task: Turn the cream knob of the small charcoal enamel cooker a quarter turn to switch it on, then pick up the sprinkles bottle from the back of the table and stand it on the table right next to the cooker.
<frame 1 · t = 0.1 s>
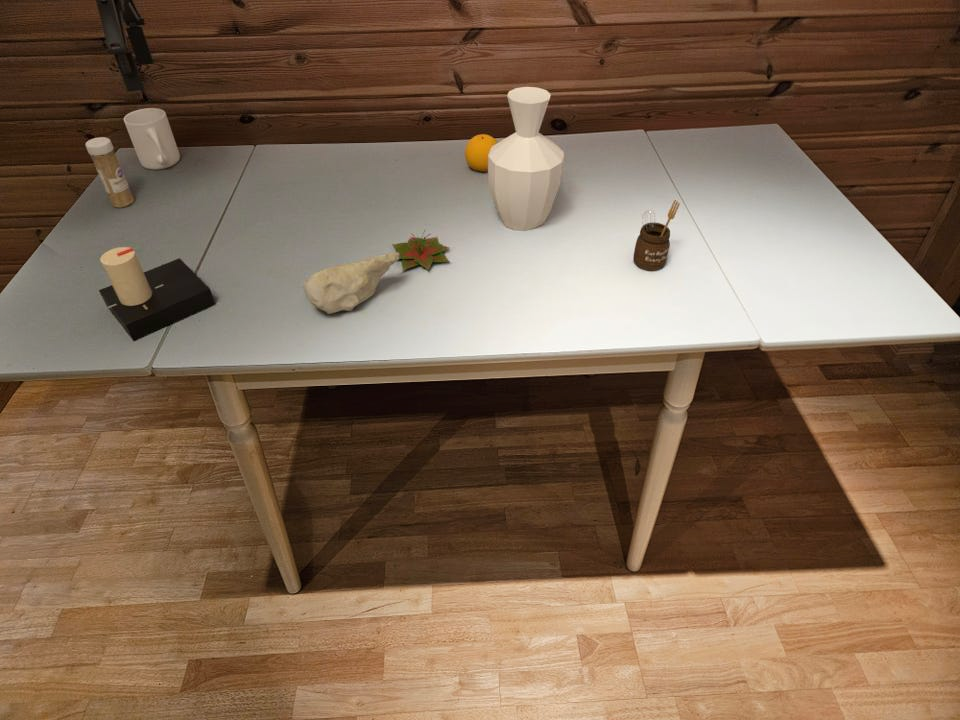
hand: (141, 76, 122), 24 cm above the table, tool pointing down, fingers open, 13 cm apart
hob knob: (126, 275, 105), point 8 cm above the table, hinge at 0.0°
lily flower: (420, 256, 122), on the table
mug: (163, 165, 149), on the table
utensil holder: (649, 263, 121), on the table
chicken drumstick: (355, 297, 113), on the table
vase: (523, 221, 131), on the table
orange fruit: (482, 168, 148), on the table
sprinkles bottle: (123, 203, 137), on the table
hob: (161, 305, 112), on the table
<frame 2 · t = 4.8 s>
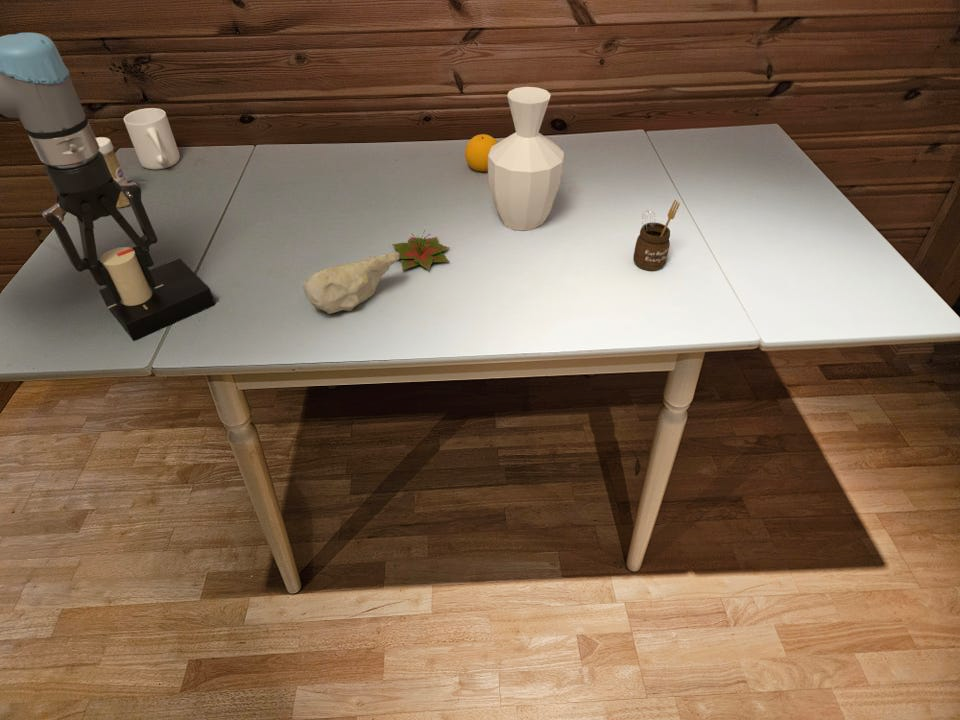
hand: (133, 290, 107), 5 cm above the table, tool pointing down, fingers closed on hob knob, 5 cm apart
hob knob: (126, 275, 105), point 8 cm above the table, hinge at -0.1°, touching gripper
everything else where it was.
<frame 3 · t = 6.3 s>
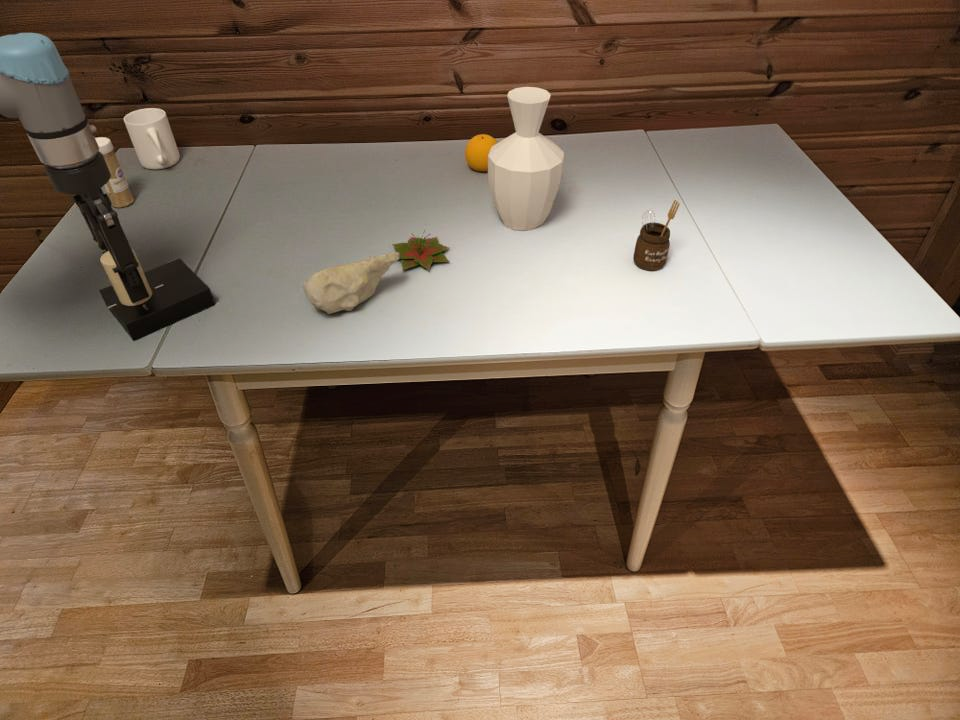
hand: (133, 290, 107), 5 cm above the table, tool pointing down, fingers closed on hob knob, 5 cm apart
hob knob: (126, 275, 105), point 8 cm above the table, hinge at 90.2°, touching gripper
everything else where it was.
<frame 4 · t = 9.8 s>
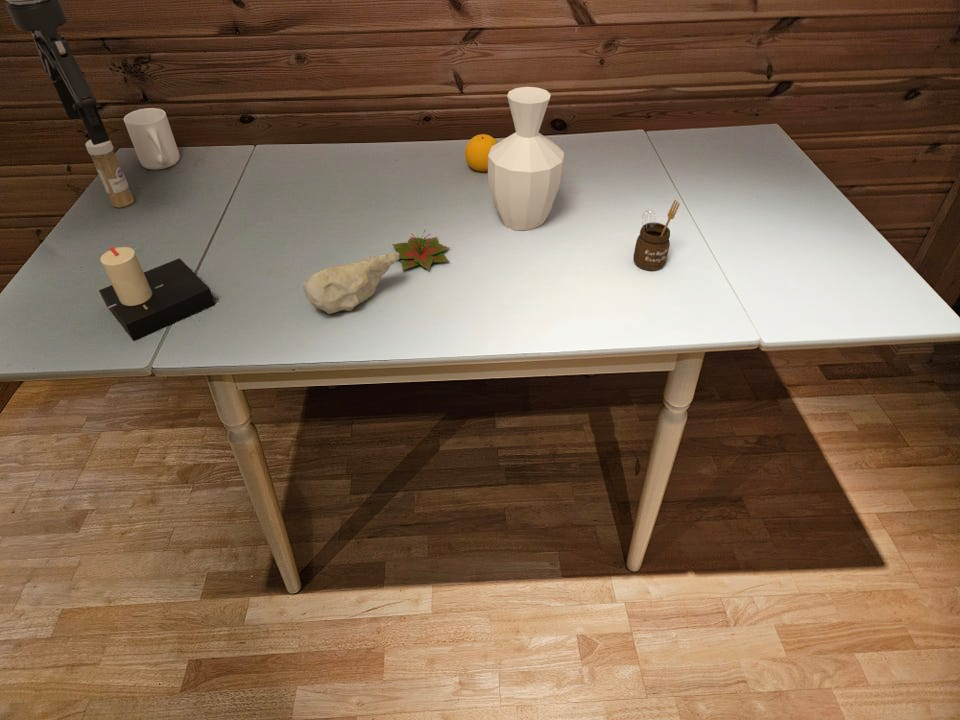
hand: (89, 129, 117), 20 cm above the table, tool pointing down, fingers open, 13 cm apart
hob knob: (126, 275, 105), point 8 cm above the table, hinge at 89.9°
everything else where it was.
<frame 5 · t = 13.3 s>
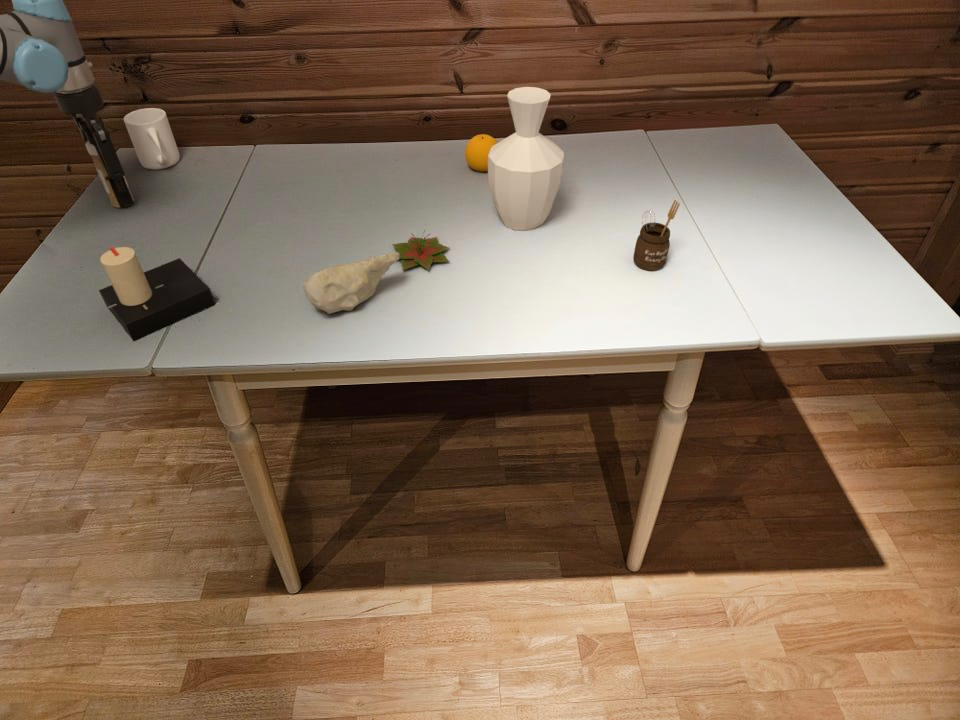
hand: (122, 200, 136), 1 cm above the table, tool pointing down, fingers closed on sprinkles bottle, 4 cm apart
sprinkles bottle: (123, 203, 137), on the table, touching gripper
everything else where it was.
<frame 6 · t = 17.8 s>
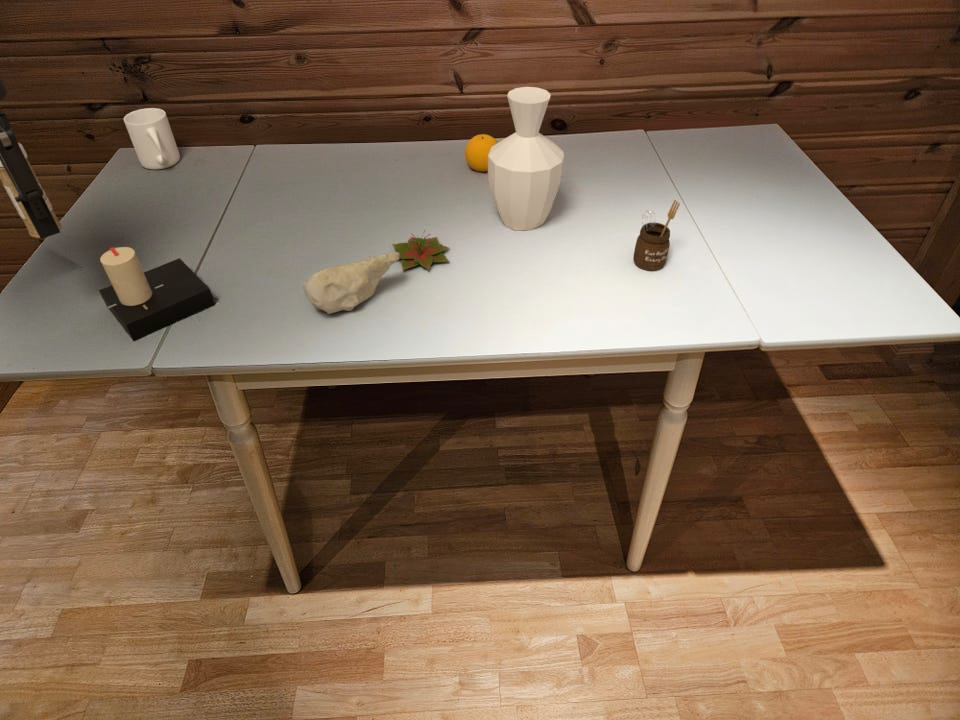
hand: (44, 227, 99), 16 cm above the table, tool pointing down, fingers closed on sprinkles bottle, 4 cm apart
sprinkles bottle: (47, 232, 100), point 16 cm above the table, touching gripper
everything else where it was.
when the fingers open (1 cm above the table, at t = 22.2 s): sprinkles bottle stays where it is, on the table.
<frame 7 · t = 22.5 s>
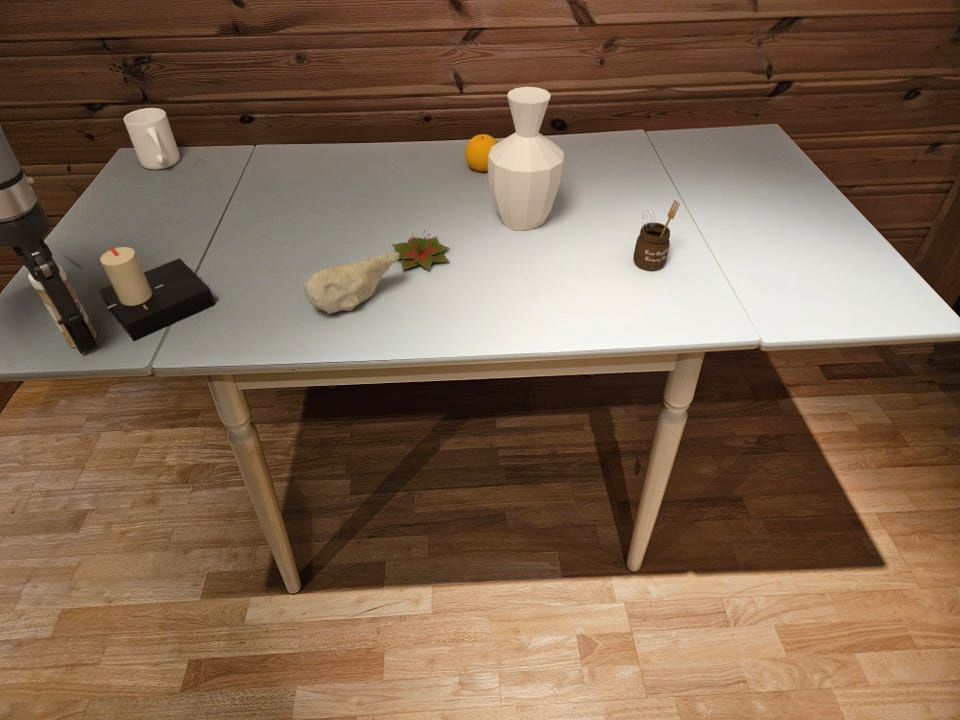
hand: (79, 335, 105), 1 cm above the table, tool pointing down, fingers open, 8 cm apart
sprinkles bottle: (83, 340, 105), on the table
everything else where it was.
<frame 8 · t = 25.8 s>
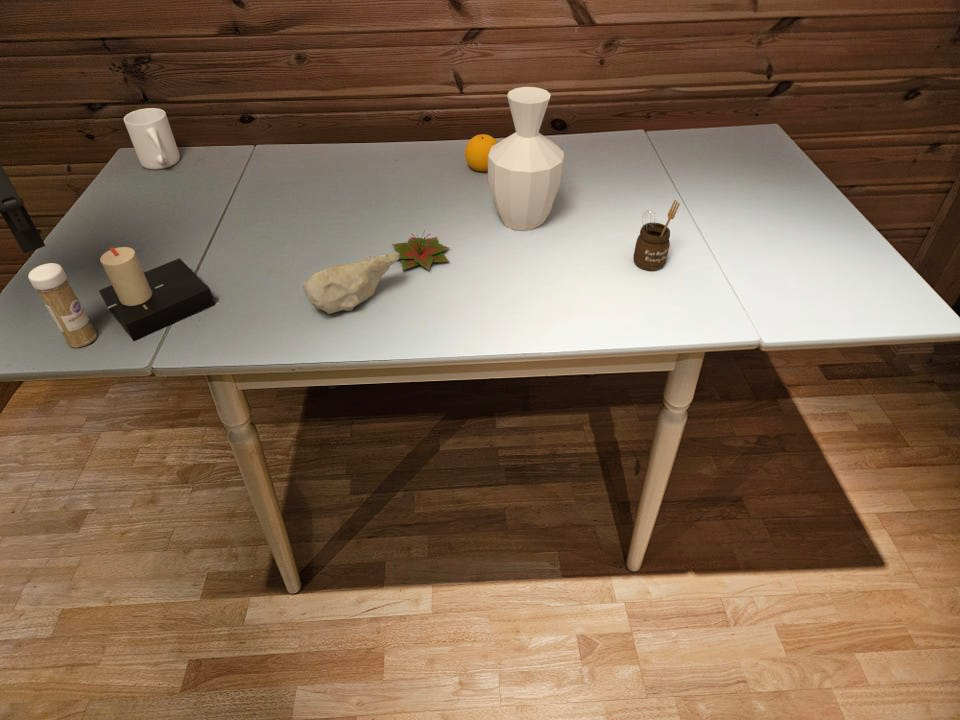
hand: (19, 228, 91), 21 cm above the table, tool pointing down, fingers open, 13 cm apart
nothing on the table moved.
at the end: hob knob at +90° (first picture: +0°); sprinkles bottle inside the target area on the table beside the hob (0.6 cm from its centre), on the table; sprinkles bottle tilted 0° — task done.
